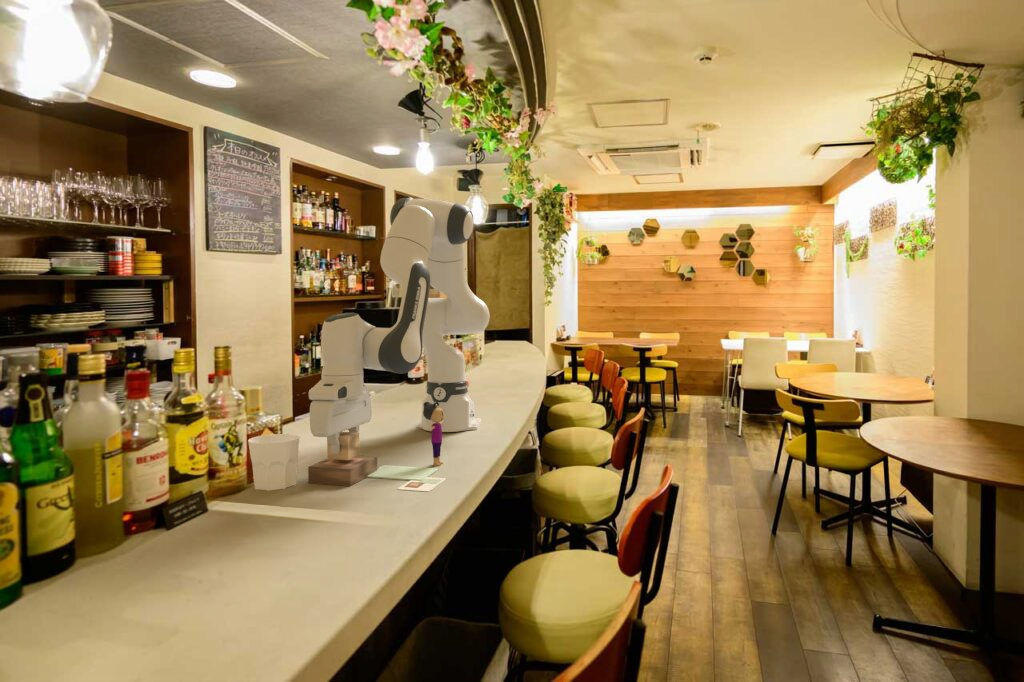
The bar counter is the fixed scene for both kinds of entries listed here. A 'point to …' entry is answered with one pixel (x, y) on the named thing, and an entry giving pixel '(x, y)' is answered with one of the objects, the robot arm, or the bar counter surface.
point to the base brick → (342, 470)
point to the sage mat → (402, 472)
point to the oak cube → (345, 446)
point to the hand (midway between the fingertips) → (343, 449)
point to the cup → (274, 460)
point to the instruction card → (422, 484)
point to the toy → (435, 428)
